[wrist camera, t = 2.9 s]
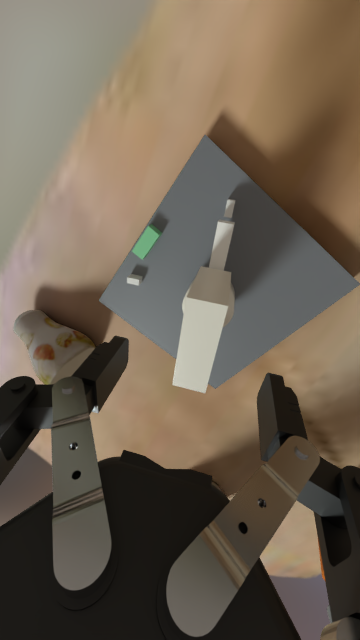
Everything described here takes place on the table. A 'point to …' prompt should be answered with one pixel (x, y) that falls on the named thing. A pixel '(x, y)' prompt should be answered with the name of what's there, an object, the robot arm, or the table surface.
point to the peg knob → (205, 315)
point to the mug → (52, 346)
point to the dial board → (242, 261)
